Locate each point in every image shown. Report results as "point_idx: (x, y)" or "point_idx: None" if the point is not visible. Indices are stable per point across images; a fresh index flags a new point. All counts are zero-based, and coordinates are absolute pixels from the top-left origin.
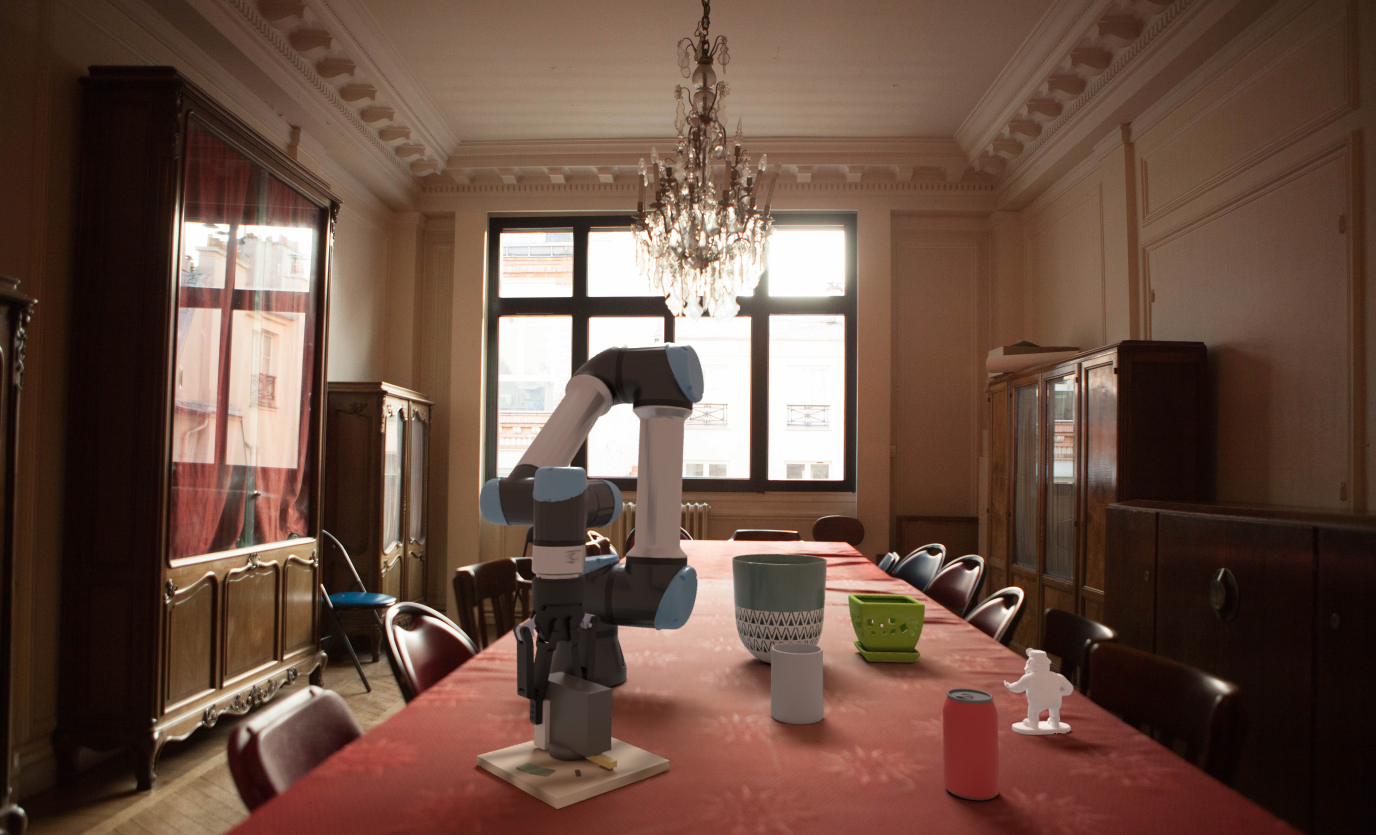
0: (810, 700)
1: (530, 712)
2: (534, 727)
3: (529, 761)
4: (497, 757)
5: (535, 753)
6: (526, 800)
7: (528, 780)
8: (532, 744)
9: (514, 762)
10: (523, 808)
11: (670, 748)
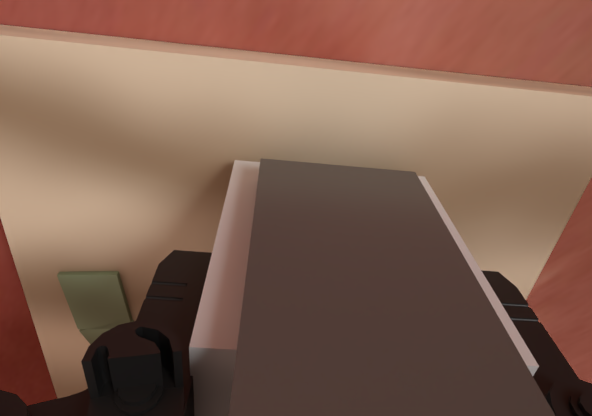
0: None
1: (145, 303)
2: (224, 207)
3: (136, 254)
4: (34, 132)
5: (201, 210)
6: (39, 365)
7: (55, 356)
8: (260, 114)
9: (80, 225)
10: (14, 387)
11: (579, 376)
